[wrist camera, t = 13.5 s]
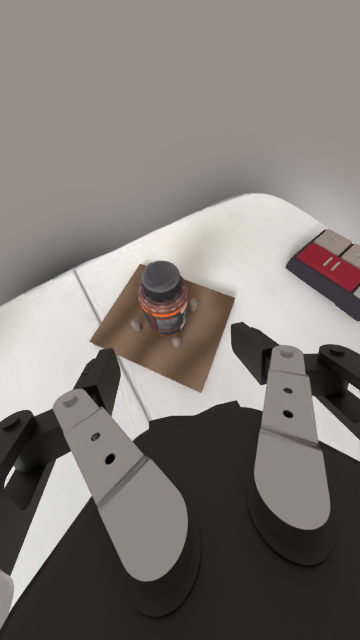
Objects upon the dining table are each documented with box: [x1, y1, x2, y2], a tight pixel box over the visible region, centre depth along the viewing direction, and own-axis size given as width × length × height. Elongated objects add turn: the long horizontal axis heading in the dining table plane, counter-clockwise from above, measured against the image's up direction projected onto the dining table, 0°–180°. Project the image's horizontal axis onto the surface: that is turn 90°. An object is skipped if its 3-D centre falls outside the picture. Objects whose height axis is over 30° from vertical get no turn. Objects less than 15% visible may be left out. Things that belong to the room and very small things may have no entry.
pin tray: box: [90, 264, 235, 393], centre depth 28 cm, size 18×16×4 cm
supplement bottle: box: [138, 261, 188, 336], centre depth 24 cm, size 6×6×11 cm
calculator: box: [286, 229, 360, 321], centre depth 32 cm, size 11×4×15 cm
